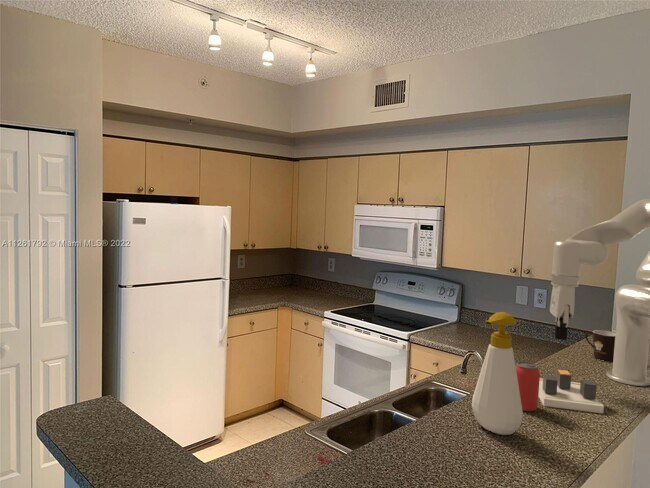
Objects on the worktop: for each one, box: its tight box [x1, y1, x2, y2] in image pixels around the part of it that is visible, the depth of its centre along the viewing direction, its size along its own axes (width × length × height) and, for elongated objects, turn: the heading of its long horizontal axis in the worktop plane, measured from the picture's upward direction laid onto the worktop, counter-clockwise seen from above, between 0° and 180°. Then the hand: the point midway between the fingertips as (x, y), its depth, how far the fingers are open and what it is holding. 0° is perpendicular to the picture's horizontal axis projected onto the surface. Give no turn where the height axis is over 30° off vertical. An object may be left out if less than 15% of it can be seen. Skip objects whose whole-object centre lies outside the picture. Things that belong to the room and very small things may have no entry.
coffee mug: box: [584, 329, 616, 362], centre depth 181 cm, size 12×9×10 cm
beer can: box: [515, 361, 541, 412], centre depth 131 cm, size 7×7×12 cm
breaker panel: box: [538, 374, 605, 414], centre depth 139 cm, size 18×15×6 cm
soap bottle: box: [471, 311, 524, 436], centre depth 115 cm, size 13×10×29 cm
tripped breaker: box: [555, 369, 572, 389], centre depth 142 cm, size 4×3×4 cm
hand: (560, 338), depth 149 cm, fingers closed
